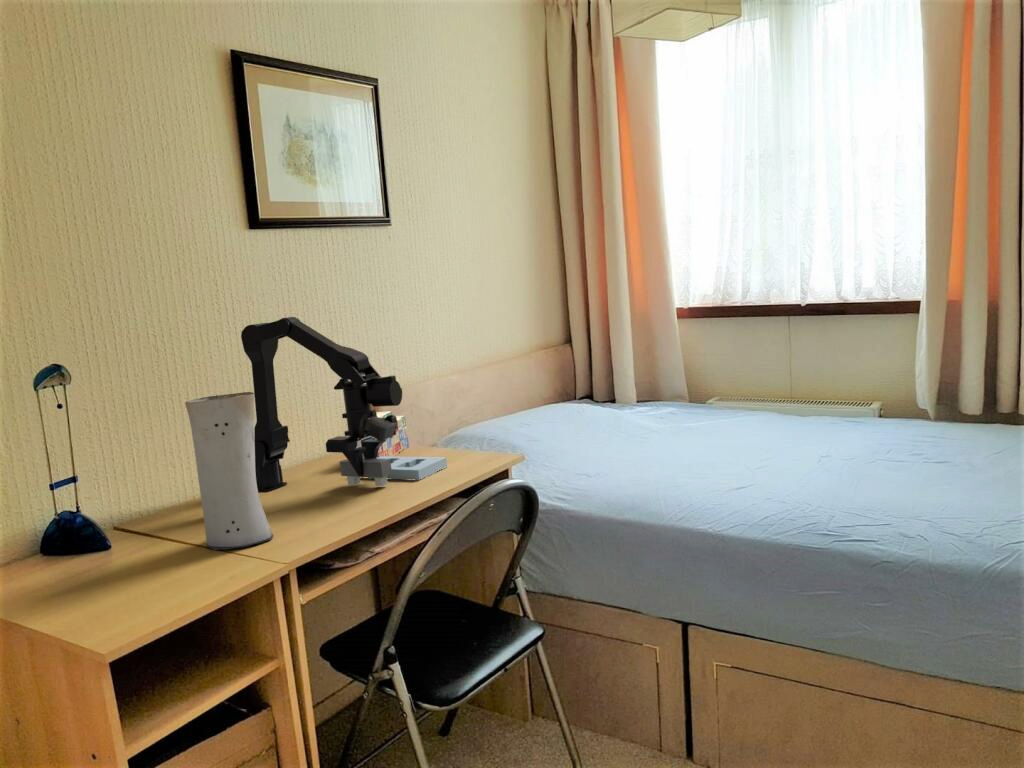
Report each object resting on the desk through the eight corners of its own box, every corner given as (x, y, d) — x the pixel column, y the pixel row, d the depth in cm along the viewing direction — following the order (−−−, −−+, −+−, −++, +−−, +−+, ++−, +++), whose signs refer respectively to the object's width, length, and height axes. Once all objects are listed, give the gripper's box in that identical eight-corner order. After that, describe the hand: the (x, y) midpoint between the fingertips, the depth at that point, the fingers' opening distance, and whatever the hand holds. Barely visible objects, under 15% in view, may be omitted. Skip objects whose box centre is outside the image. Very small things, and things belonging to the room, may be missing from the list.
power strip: (393, 483, 179) (390, 458, 178) (383, 487, 176) (380, 461, 175) (352, 481, 185) (349, 456, 184) (342, 485, 182) (339, 460, 181)
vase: (291, 534, 150) (274, 390, 148) (231, 556, 139) (211, 401, 136) (248, 528, 158) (231, 391, 155) (188, 549, 146) (168, 402, 144)
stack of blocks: (389, 448, 224) (383, 406, 222) (409, 447, 222) (404, 404, 221) (357, 467, 203) (351, 420, 202) (380, 466, 202) (374, 419, 200)
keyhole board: (447, 467, 192) (446, 457, 191) (419, 480, 181) (418, 470, 181) (382, 465, 201) (381, 456, 201) (352, 477, 191) (351, 467, 190)
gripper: (359, 415, 166) (368, 486, 168) (410, 399, 182) (418, 464, 184) (320, 415, 171) (329, 484, 173) (372, 400, 187) (380, 463, 190)
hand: (366, 473), depth 180 cm, fingers closed on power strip, 3 cm apart
